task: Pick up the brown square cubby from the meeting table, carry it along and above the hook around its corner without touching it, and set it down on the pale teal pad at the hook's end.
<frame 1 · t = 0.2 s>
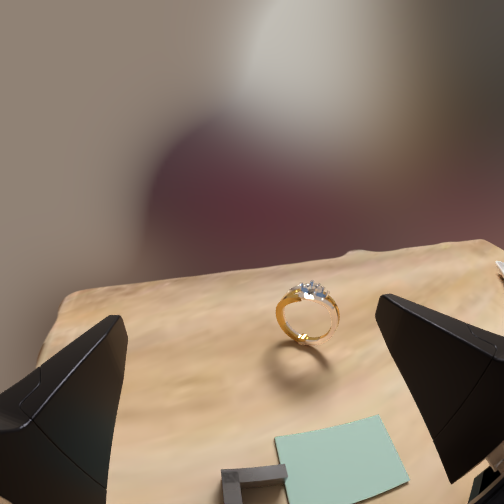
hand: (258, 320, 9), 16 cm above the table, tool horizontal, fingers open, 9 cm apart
pad: (342, 464, 16), on the table
ring 2: (301, 344, 31), on the table
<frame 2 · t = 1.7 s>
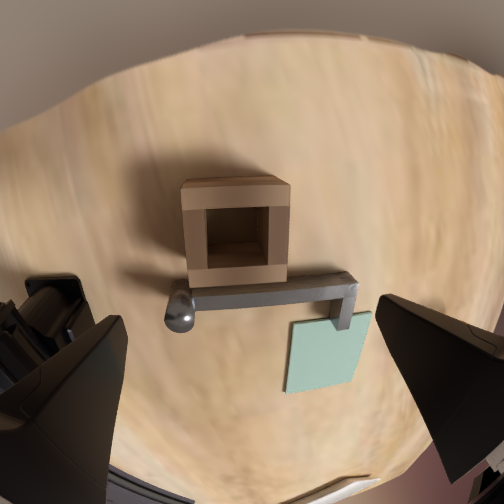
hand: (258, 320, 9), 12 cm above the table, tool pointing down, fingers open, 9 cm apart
pad: (326, 355, 26), on the table
gaming console: (113, 484, 39), on the table
brown square cubby: (232, 219, 19), on the table
tray: (320, 493, 53), on the table
hook: (268, 285, 22), on the table
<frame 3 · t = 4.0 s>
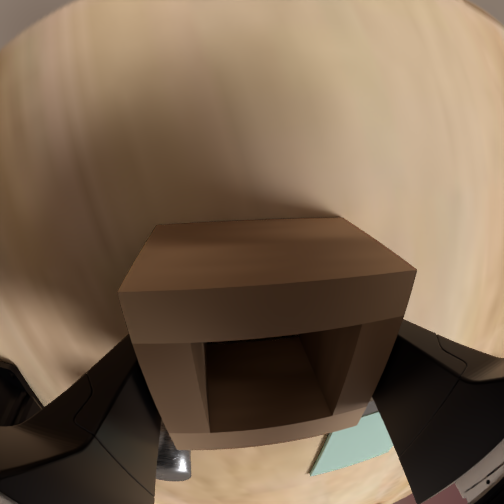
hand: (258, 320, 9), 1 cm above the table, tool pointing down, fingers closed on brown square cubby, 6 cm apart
pad: (367, 439, 16), on the table
brown square cubby: (253, 303, 10), on the table, touching gripper
hook: (308, 389, 12), on the table
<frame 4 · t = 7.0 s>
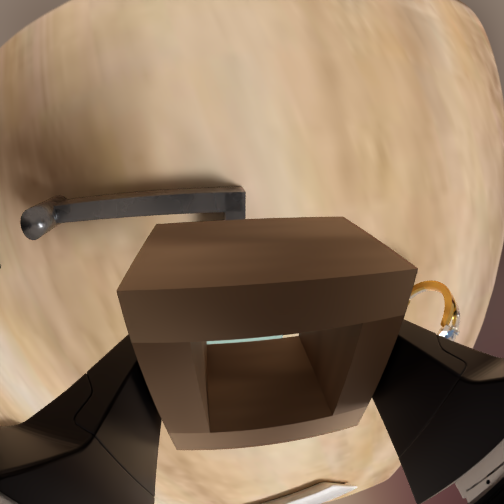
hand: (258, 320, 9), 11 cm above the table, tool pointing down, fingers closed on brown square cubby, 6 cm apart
brown square cubby: (253, 302, 10), point 10 cm above the table, touching gripper
tray: (290, 497, 48), on the table
hook: (140, 200, 17), on the table
ring 2: (399, 296, 24), on the table
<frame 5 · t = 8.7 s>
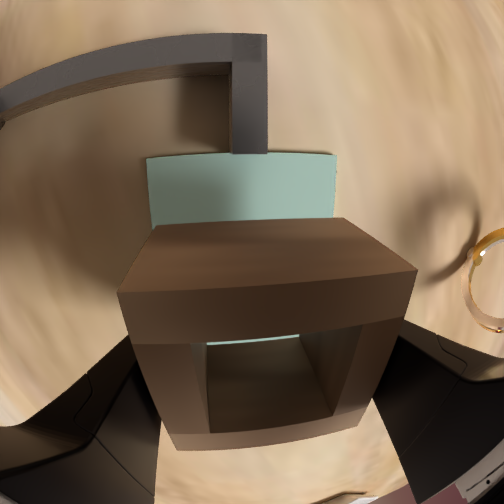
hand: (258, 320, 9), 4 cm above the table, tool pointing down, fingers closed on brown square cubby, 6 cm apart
pad: (245, 263, 13), on the table
brown square cubby: (253, 303, 10), point 3 cm above the table, touching gripper
hook: (98, 78, 9), on the table
ring 2: (468, 252, 15), on the table
when the fingers open (2 cm above the table, at t = 10.0 s): brown square cubby drops 1 cm, resting on pad.
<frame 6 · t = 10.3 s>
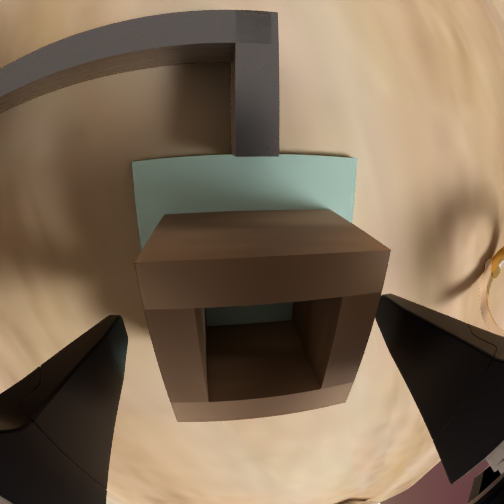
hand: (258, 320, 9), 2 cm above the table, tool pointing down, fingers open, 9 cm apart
pad: (249, 283, 11), on the table
brown square cubby: (250, 286, 11), resting on pad
hook: (78, 69, 7), on the table
ring 2: (485, 263, 13), on the table
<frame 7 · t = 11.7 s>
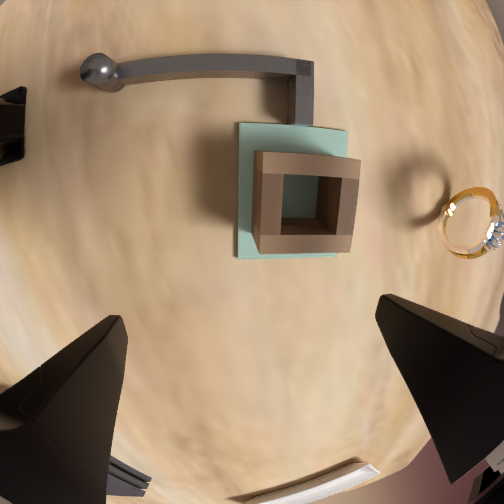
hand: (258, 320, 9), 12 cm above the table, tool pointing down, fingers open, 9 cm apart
pad: (292, 193, 20), on the table
gaming console: (58, 444, 32), on the table
brown square cubby: (293, 193, 19), resting on pad
tray: (310, 484, 46), on the table
hook: (207, 70, 16), on the table
ring 2: (442, 208, 22), on the table
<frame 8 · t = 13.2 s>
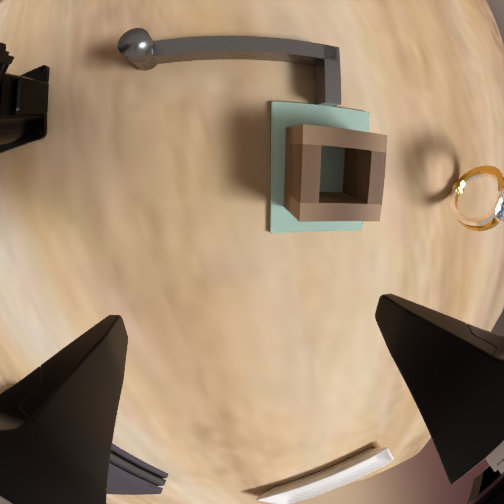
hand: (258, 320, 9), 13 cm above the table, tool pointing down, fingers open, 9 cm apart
pad: (321, 168, 20), on the table
gaming console: (71, 444, 33), on the table
brown square cubby: (322, 168, 20), resting on pad
tray: (326, 473, 47), on the table
hook: (239, 52, 16), on the table
ring 2: (453, 186, 22), on the table
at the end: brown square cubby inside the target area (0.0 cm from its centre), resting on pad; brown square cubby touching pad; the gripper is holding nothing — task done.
